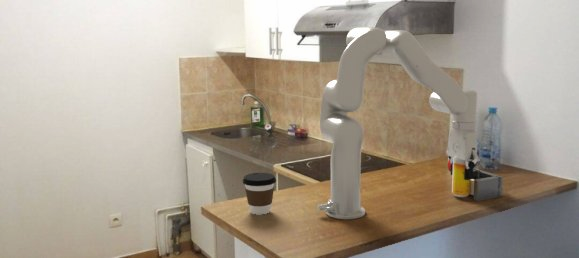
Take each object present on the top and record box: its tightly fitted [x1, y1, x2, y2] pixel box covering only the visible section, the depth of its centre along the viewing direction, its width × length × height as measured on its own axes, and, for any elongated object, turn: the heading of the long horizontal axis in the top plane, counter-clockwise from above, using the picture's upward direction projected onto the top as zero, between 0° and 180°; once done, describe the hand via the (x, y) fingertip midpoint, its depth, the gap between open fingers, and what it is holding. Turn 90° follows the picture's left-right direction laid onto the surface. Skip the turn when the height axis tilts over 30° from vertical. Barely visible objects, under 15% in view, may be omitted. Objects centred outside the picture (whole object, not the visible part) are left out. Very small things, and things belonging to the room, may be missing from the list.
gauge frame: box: [472, 168, 504, 202], centre depth 196 cm, size 11×12×7 cm
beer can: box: [451, 156, 471, 198], centre depth 192 cm, size 6×6×15 cm
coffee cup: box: [242, 172, 277, 216], centre depth 181 cm, size 11×11×12 cm
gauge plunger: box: [469, 168, 481, 196], centre depth 196 cm, size 5×10×8 cm, turn 25°
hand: (461, 176), depth 192 cm, fingers closed on beer can, 6 cm apart
